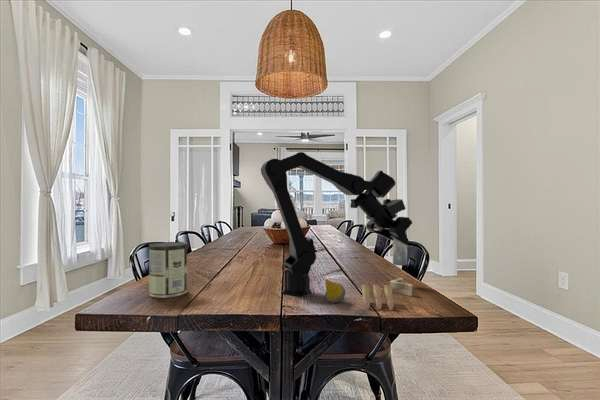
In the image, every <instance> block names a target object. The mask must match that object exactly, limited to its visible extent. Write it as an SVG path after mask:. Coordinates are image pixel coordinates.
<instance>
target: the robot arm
mask: <svg viewBox="0 0 600 400" xmlns="http://www.w3.org/2000/svg"><path fill="white" fill-rule="evenodd" d="M296 168H300V169H301V170H303V171H306V172H308V173H310V174H311V175H314V176H315V177H319V178H320V179H322V180H324V181H326V182H329V183H331V184H332V185H333V186H335V188H336V189H337V190H338V191H340V192H341V193H342V194H344V195H346V196H356V198H351V199H350V209H357V208H359V209H360V210H362V211H363V213H364V214H365V215H366V216H365V218H366V220H369V221H367V223H366V224H365V225H366V229H367V230H368V231H369V232H370V233H375V234H376V235H379V236H380V237H381V236H382V237H383V238H385V239H388V240H390V241H392V242H393V238H394V239H396V240H398V241H400V242H402V243H403V244H405V245H407V246H408V245H409V244H410V240H409V238H408V234H407V235H406V233H405V231H406V230H407V231H408V229H409V228H410V227H411V225H413V220H411V219H410V217H407V216H397V214H398V213H399V212H402V211H405V210H406V209H407V208H406V205H405V203H404V201H403V199H399V198H398V199H390V198H386V199H383V198H385V197H386V196H387V194H388V193H389V192H390V191H392V189H393V188H394V187H395V185H396V183H397V182H396V181H395V179H394V178H393V177H392V176H390V175H389V174H387V173H385V172H384V171H383V170H378V171H377V172H376V173H375V174H374V175H373V177H372V178H371V179H370V180H365V179H364V178H363V177H362V176H359V175H356V174H353V173H349V172H344V171H340V170H338V169H336V168H334V167H332V166H329V165H328V164H326V163H324V162H322V161H319V160H317V159H316V158H314V157H311V156H310V155H307V154H306V153H305V152H303V151H299V152H297V153H295V154H292V155H291V156H287V157H286V158H282V159H280V158H279V159H278V158H271V159H269V160H266V161H265V162H264V163H263V164H262V165H261V168H260V174H261V176H262V178H263V180H264V181H265V183H266V185H267V186H268V187H269V189H270V190H271V192H272V194H273V197H274V199H275V202H276V204H277V207H278V209H279V210H278V211H279V213H280V215H281V219H282V222H283V224H284V227H285V229H286V232H287V235H288V242H289V245H288V246H289V253H290V255H288V257H287V258H286V259H285V260H284V261H282V263H283V266H284V268H285V270H284V290H281V293H282V294H285V295H290V296H291V295H292V296H297V297H301V296H303V295H306V294H308V293H311V292H312V289H311V284H310V283H311V281H310V279H311V277H310V276H309V274H310V270H311V267H312V266H313V265H314V264H315V262H316V260H317V253H318V250H317V249H316V248H315V243H314V239H313V238H311V237H308V236H305V234H304V231H303V229H302V226H301V223H300V220H299V218H298V214H297V212H296V209H295V207H294V203H293V201H292V198H291V193H290V192H289V189H288V175H287V172H288V171H291V170H294V169H296ZM379 198H382V199H383V202H382V203H381V202H380V201H379ZM395 218H396V219H395Z"/></svg>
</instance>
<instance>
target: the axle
mask: <svg viewBox="0 0 600 400" xmlns="http://www.w3.org/2000/svg"><path fill="white" fill-rule="evenodd" d="M405 233H406V235H407V236H408V229H407V230H406V231H405ZM392 265H395V266H408V245H405V244H403V243H402V242H400V241H398V240H396V239H394V238H393V241H392Z"/></svg>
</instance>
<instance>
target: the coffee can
mask: <svg viewBox="0 0 600 400" xmlns="http://www.w3.org/2000/svg"><path fill="white" fill-rule="evenodd" d="M187 247H188V243H187V242H184V241H164V242H163V241H162V242H154V243H150V244H148V248H149V249H148V251H149V256H148V257H149V263H148V264H149V266H148V267H149V272H148V273H149V276H148V277H149V281H148V282H149V294H148V295H149V297H152V298H155V299H156V298H157V299H159V298H160V299H164V298H173V297H174V298H175V297H179V296H183V295H185V294H186V293H187V292H188V284H187V283H188V280H187V279H188V277H187V276H188V264H187V263H188V259H187V258H188V248H187Z"/></svg>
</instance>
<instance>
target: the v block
mask: <svg viewBox="0 0 600 400" xmlns="http://www.w3.org/2000/svg"><path fill="white" fill-rule="evenodd" d="M389 285H390V286H391V288H392V294H398V295H402V296H409V297H411V296H413V284H411V283H410V284H409V283H406V282H404V278H401V277H398V278H396V279H393V280H389Z"/></svg>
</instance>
